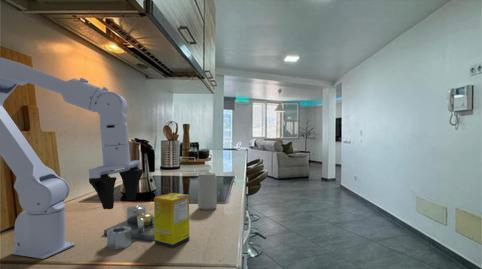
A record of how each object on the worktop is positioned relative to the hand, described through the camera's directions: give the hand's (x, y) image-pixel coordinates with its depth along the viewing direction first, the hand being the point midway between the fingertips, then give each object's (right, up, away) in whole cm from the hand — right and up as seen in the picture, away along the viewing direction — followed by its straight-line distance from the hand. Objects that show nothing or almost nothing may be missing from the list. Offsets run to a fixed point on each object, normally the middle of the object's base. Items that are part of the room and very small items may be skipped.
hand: (120, 204), depth 67 cm
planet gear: (0, -10, 0) cm, 10 cm away
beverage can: (+16, -10, +33) cm, 38 cm away
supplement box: (+11, -10, +2) cm, 15 cm away
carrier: (+2, -10, +12) cm, 15 cm away
